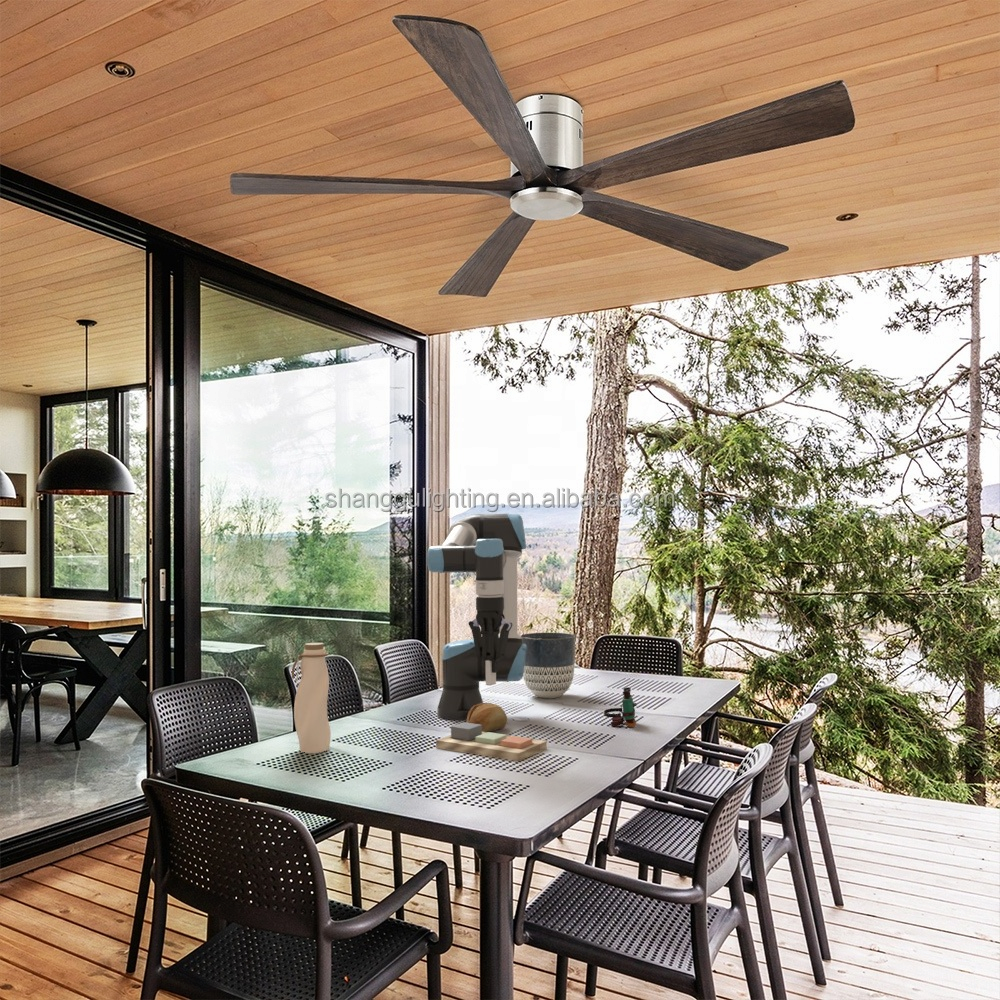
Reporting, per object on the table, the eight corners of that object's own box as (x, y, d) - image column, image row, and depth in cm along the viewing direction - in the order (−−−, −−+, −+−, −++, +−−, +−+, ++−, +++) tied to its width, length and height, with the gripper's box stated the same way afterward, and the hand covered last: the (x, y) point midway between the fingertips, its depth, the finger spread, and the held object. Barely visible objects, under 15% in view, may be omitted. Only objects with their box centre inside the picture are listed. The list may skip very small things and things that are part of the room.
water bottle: (296, 756, 206) (296, 647, 207) (288, 748, 213) (288, 643, 215) (335, 751, 210) (335, 644, 212) (326, 744, 218) (326, 641, 220)
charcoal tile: (451, 737, 215) (451, 726, 215) (464, 733, 220) (464, 722, 220) (469, 740, 212) (469, 729, 212) (482, 735, 217) (481, 724, 217)
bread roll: (457, 734, 227) (457, 706, 228) (487, 724, 239) (487, 697, 240) (484, 739, 222) (484, 710, 222) (514, 728, 234) (513, 701, 235)
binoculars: (602, 688, 243) (635, 686, 241) (606, 723, 242) (639, 721, 240) (599, 694, 234) (634, 691, 232) (604, 730, 233) (638, 728, 231)
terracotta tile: (500, 752, 206) (500, 740, 207) (513, 747, 211) (512, 735, 212) (520, 755, 203) (520, 743, 203) (532, 750, 208) (532, 738, 208)
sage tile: (475, 748, 211) (475, 736, 211) (488, 743, 216) (488, 732, 216) (494, 751, 208) (494, 739, 208) (506, 746, 212) (506, 734, 213)
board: (436, 747, 213) (436, 740, 213) (466, 736, 225) (466, 729, 225) (518, 761, 199) (518, 753, 199) (546, 748, 210) (546, 741, 210)
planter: (585, 694, 283) (584, 634, 284) (560, 704, 267) (558, 640, 268) (538, 690, 293) (537, 631, 295) (510, 699, 277) (509, 637, 278)
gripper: (462, 596, 215) (462, 684, 214) (502, 597, 208) (503, 689, 207) (478, 594, 221) (479, 680, 220) (517, 595, 214) (519, 684, 213)
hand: (490, 684), depth 213 cm, fingers closed
